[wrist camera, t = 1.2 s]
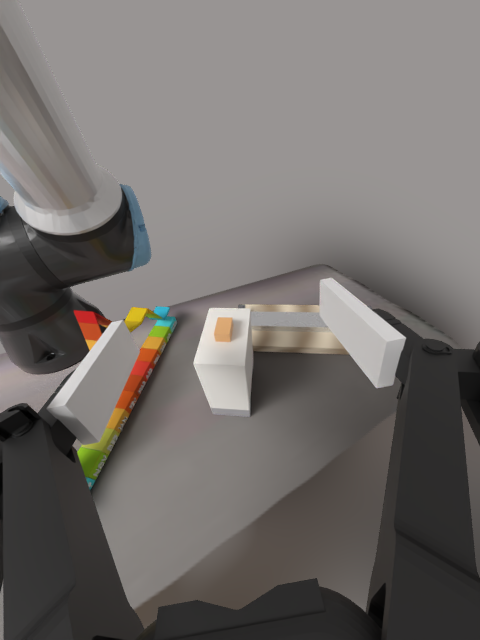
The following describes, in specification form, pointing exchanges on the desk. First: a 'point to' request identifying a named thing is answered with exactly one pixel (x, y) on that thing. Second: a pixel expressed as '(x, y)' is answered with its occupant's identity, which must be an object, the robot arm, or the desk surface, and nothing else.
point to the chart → (149, 354)
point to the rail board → (294, 335)
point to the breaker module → (226, 360)
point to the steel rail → (288, 321)
